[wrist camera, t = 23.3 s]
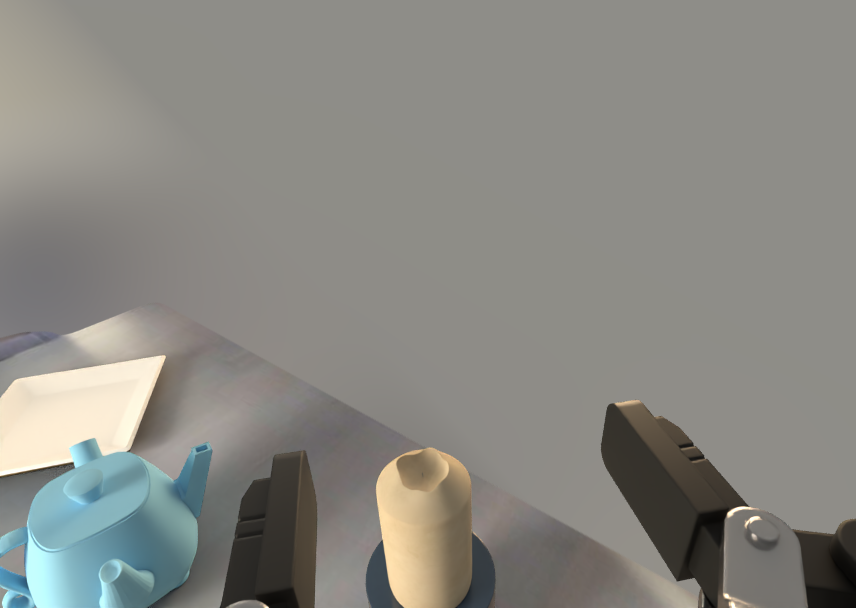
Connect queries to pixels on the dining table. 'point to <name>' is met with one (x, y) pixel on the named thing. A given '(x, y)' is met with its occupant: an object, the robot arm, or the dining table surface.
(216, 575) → the dining table surface
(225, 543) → the dining table surface
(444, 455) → the candle
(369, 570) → the mug
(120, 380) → the plate
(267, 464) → the dining table surface
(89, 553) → the teapot
